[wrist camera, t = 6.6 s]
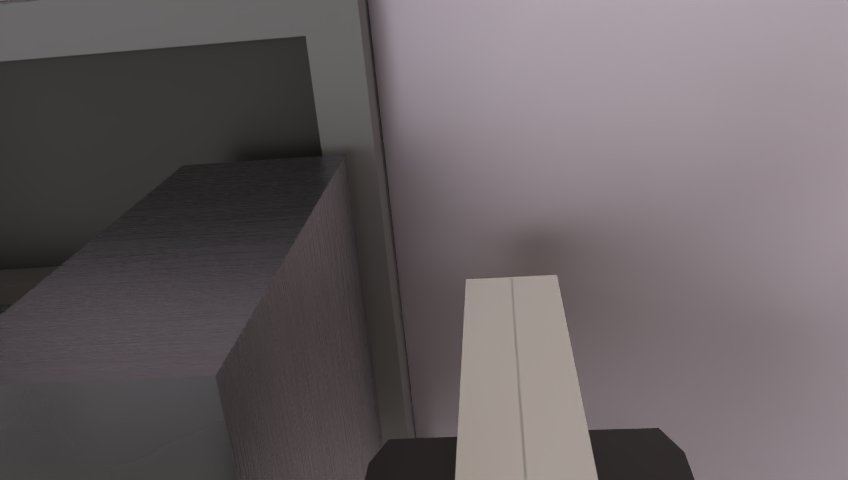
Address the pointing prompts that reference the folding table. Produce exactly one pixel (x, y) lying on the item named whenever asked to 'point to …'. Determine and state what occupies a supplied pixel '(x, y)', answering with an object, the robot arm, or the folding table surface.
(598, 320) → the folding table surface
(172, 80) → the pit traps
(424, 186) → the folding table surface
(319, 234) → the dark grey block
